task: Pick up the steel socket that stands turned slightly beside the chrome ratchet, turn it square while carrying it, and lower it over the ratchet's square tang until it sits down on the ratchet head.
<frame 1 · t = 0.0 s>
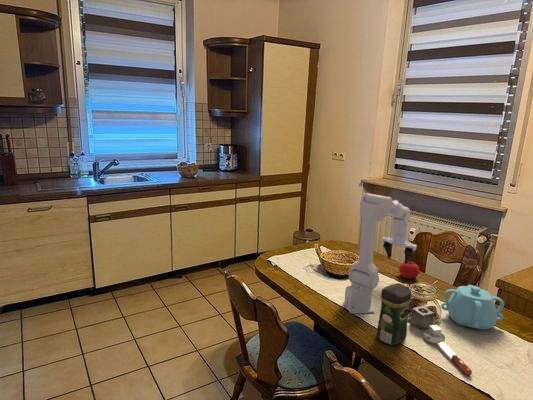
hand: (397, 260, 161), 11 cm above the table, tool pointing down, fingers open, 7 cm apart
tomato: (408, 277, 169), on the table
socket: (420, 325, 129), on the table
decorative pot: (469, 321, 134), on the table
coffee jar: (390, 338, 122), on the table
ratchet: (433, 339, 122), on the table
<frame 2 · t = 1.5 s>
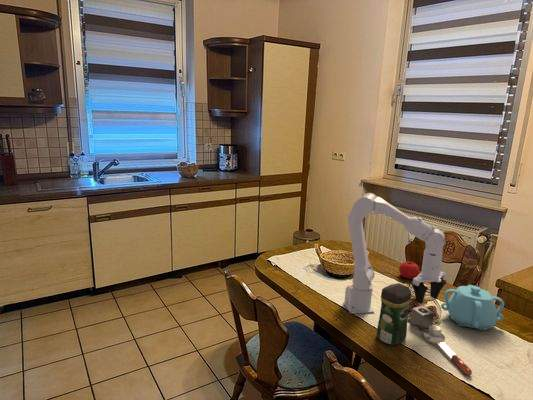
hand: (426, 300, 128), 9 cm above the table, tool pointing down, fingers open, 7 cm apart
nothing on the table moved.
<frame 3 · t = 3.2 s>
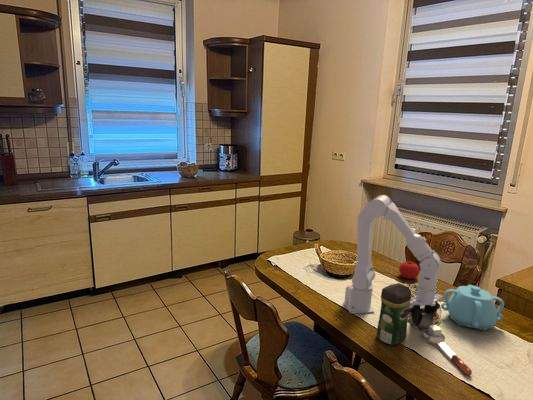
hand: (421, 322, 129), 1 cm above the table, tool pointing down, fingers closed on socket, 5 cm apart
socket: (420, 325, 129), on the table, touching gripper
everything else where it was.
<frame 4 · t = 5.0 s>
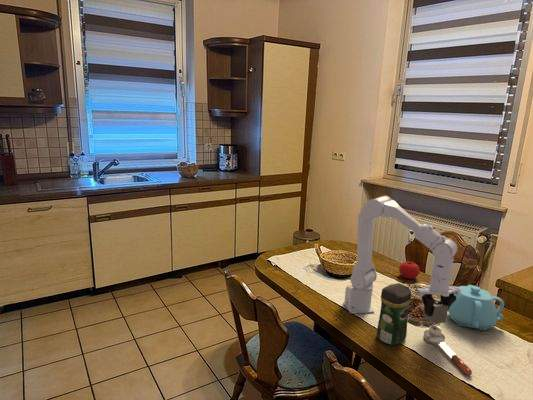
hand: (435, 314, 121), 8 cm above the table, tool pointing down, fingers closed on socket, 5 cm apart
socket: (434, 318, 122), point 7 cm above the table, touching gripper
everything else where it was.
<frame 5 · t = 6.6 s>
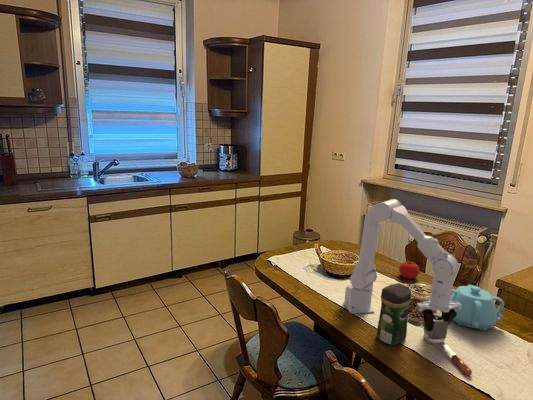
hand: (435, 329, 121), 4 cm above the table, tool pointing down, fingers closed on socket, 5 cm apart
socket: (434, 333, 121), point 2 cm above the table, touching gripper
everything else where it was.
when the fingers open (3 cm above the table, at t = 7.3 s): socket stays where it is, resting on ratchet.
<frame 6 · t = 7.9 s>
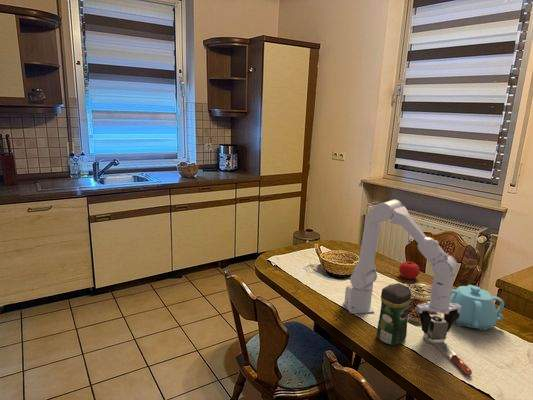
hand: (435, 330, 121), 3 cm above the table, tool pointing down, fingers open, 7 cm apart
socket: (434, 335, 121), point 2 cm above the table, touching ratchet
everything else where it was.
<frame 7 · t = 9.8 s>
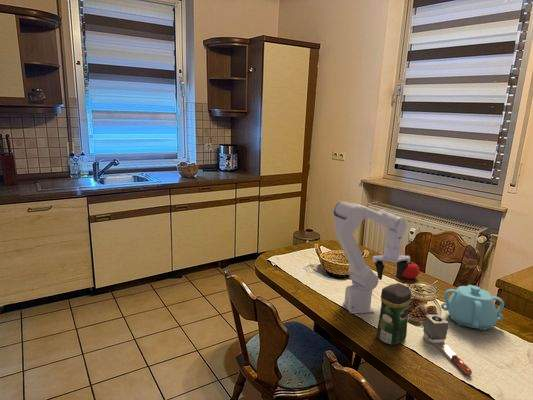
hand: (388, 278, 145), 9 cm above the table, tool pointing down, fingers open, 7 cm apart
nothing on the table moved.
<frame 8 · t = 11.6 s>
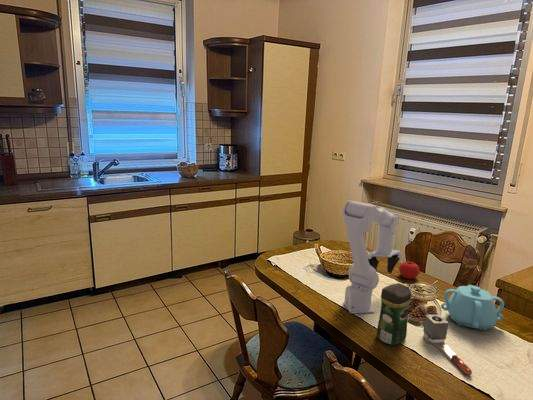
hand: (381, 273, 149), 9 cm above the table, tool pointing down, fingers open, 7 cm apart
nothing on the table moved.
at the end: socket 0.1 cm off-centre on the ratchet, point 1.6 cm above the ratchet's base; socket tilted 0°; the gripper is holding nothing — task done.
